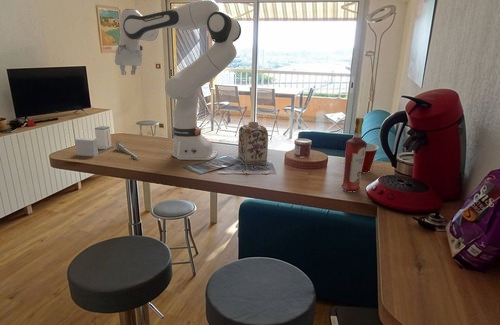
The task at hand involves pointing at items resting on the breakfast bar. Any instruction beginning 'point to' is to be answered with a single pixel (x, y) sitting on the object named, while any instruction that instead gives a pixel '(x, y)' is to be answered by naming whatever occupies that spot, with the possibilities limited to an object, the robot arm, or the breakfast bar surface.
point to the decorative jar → (253, 142)
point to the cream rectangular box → (103, 137)
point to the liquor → (354, 158)
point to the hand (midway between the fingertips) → (128, 74)
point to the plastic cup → (369, 156)
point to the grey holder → (88, 147)
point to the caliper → (125, 150)
